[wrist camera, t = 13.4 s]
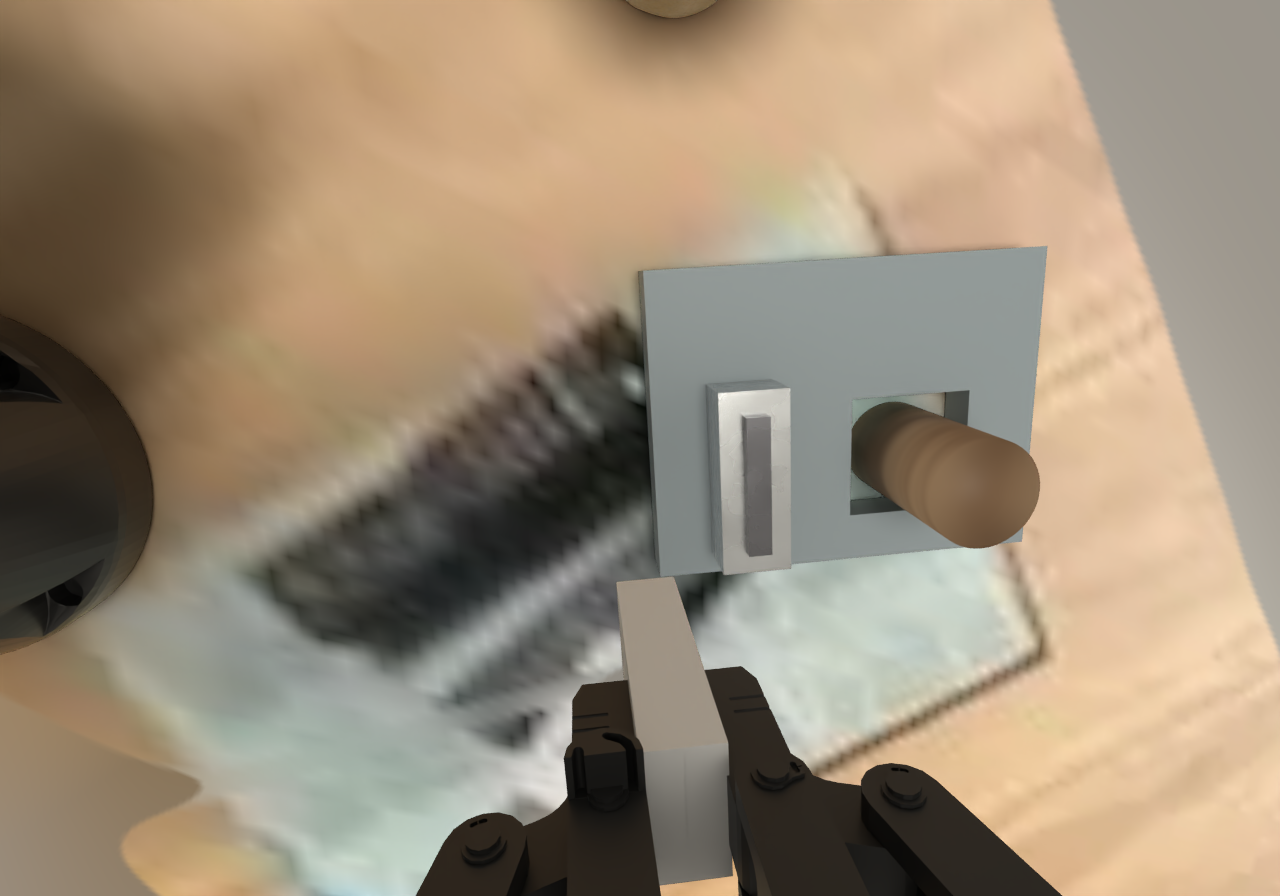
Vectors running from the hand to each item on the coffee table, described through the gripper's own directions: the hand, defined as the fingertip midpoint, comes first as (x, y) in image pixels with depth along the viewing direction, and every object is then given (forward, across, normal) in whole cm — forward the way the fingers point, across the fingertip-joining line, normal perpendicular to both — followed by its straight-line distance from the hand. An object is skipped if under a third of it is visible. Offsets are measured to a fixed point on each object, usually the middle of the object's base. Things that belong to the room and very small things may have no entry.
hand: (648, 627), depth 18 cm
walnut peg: (+15, +14, 0) cm, 21 cm away
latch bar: (+13, +6, 0) cm, 14 cm away
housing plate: (+15, +11, +2) cm, 19 cm away
